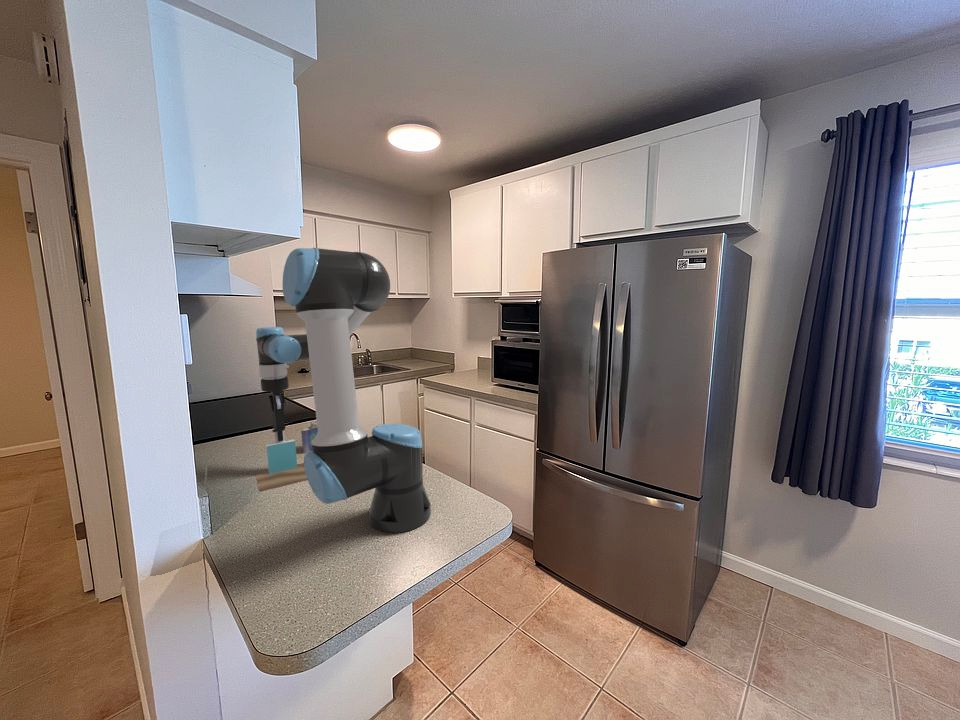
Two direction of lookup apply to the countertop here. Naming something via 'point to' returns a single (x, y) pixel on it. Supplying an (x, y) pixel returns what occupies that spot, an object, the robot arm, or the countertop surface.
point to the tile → (281, 456)
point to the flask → (309, 437)
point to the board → (280, 478)
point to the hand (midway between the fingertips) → (280, 449)
